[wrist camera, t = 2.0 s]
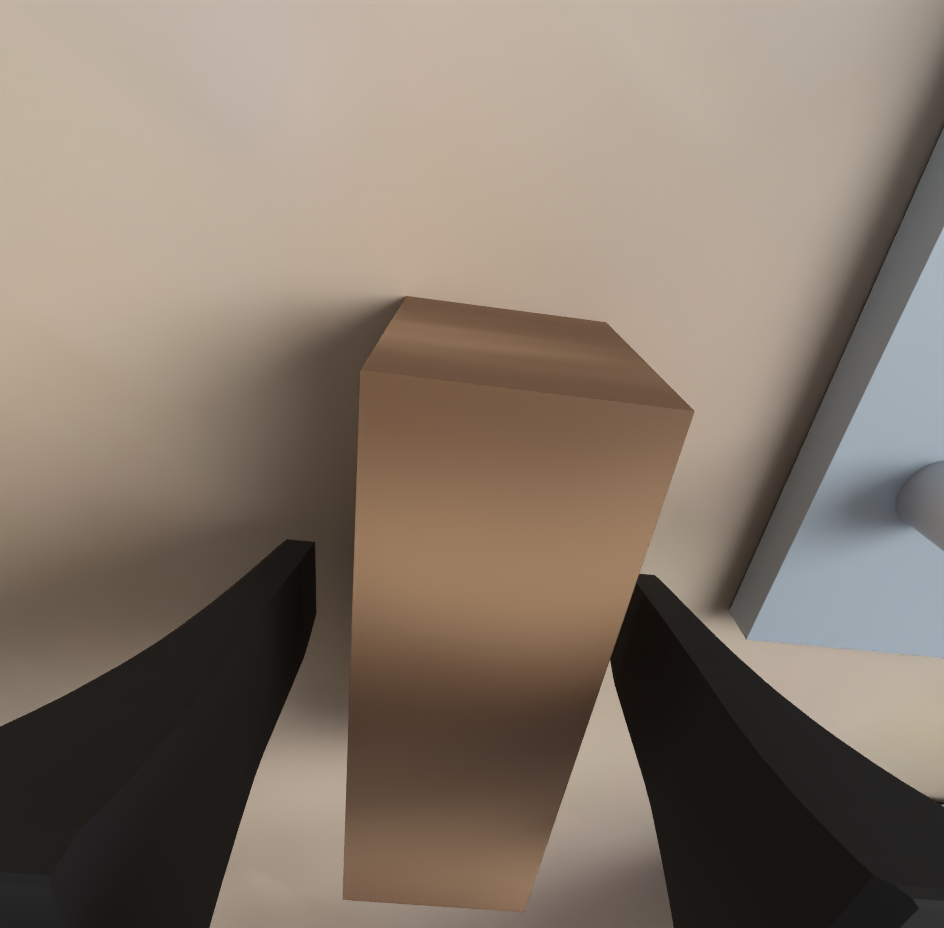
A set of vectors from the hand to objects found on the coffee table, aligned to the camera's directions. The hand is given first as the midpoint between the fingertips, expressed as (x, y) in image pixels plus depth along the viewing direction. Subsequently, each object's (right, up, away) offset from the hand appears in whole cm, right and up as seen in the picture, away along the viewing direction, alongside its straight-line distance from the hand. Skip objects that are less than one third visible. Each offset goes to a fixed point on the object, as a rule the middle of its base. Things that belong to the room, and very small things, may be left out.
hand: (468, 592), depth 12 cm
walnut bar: (0, +1, +1) cm, 2 cm away
